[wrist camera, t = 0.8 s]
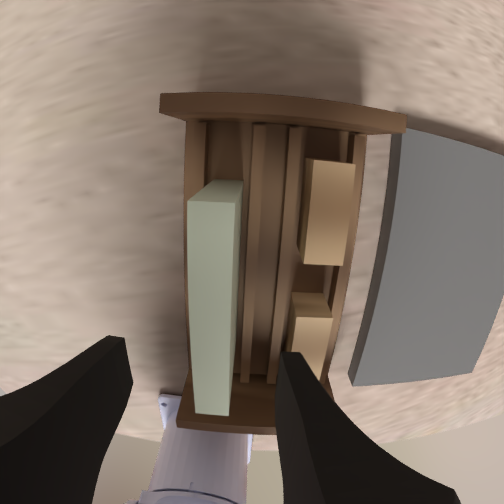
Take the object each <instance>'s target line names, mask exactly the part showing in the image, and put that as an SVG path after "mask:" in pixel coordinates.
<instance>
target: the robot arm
mask: <svg viewBox="0 0 504 504" xmlns="http://www.w3.org/2000/svg"><path fill="white" fill-rule="evenodd" d="M132 386H133V379H132V374H131V369H130V365H129V360H128V355H127V350H126V344H125V339H124V338H123V337H116V336H110V335H108V336H106V337H105V338H103V339H101V340H100V341H98V342H97V343H95V344H94V345H92V346H91V347H89V348H88V349H86V350H85V351H83V352H82V353H80V354H79V355H77V356H76V357H74V358H73V359H71V360H70V361H68V362H67V363H65V364H64V365H62V366H61V367H59V368H57V369H56V370H54V371H52V372H51V373H49V374H47V375H46V376H44V377H42V378H41V379H39V380H37V381H35V382H33V383H31V384H29V385H27V386H25V387H23V388H21V389H18V390H16V391H14V392H11V393H9V394H6V395H3V396H0V504H92V500H93V496H94V491H95V486H96V483H97V479H98V475H99V472H100V468H101V464H102V461H103V459H104V456H105V454H106V451H107V449H108V447H109V444H110V442H111V440H112V438H113V435H114V433H115V431H116V429H117V427H118V424H119V422H120V420H121V418H122V415H123V413H124V411H125V408H126V406H127V403H128V399H129V396H130V393H131V389H132ZM181 397H182V396H175V395H168V394H160V395H159V397H158V403H159V408H160V413H161V418H162V422H163V427H164V434H163V437H162V441H161V444H160V448H159V452H158V455H157V459H156V463H155V466H154V470H153V474H152V477H151V482H150V485H149V489H148V491H146V490H142V491H141V495H140V499H139V501H138V500H134V499H131V500H128V501H127V502H126V503H124V504H246V488H247V464H248V463H250V456H251V447H252V437H253V434H237V433H223V432H211V431H201V430H193V429H185V428H177V425H176V416H177V412H178V409H179V405H180V401H181ZM165 403H166V404H165ZM275 426H276V434H277V441H278V449H279V456H280V463H281V470H282V477H283V493H284V504H461V503H460V500H459V498H458V496H457V494H456V492H455V491H454V489H452V488H450V487H447V486H445V485H443V484H441V483H438V482H436V481H434V480H432V479H429V478H428V477H425V476H423V475H422V474H420V473H418V472H416V471H415V470H413V469H411V468H410V467H408V466H406V465H405V464H403V463H401V462H400V461H399V460H397V459H396V458H394V457H393V456H392V455H390V454H389V453H388V452H386V451H385V450H383V449H382V448H381V447H379V446H378V445H377V444H376V443H375V442H373V441H372V440H371V439H370V438H369V437H368V436H366V435H365V434H364V433H363V432H362V431H361V430H360V429H359V428H358V427H357V426H356V425H355V424H354V423H353V422H352V421H351V420H350V419H349V418H348V417H347V415H346V414H345V413H344V412H343V411H342V410H341V409H340V407H339V406H338V405H337V404H336V403H335V401H334V400H333V399H332V398H331V396H330V395H329V394H328V392H327V391H326V390H325V388H324V387H323V386H322V384H321V383H320V381H319V380H318V379H317V377H316V376H315V374H314V373H313V371H312V369H311V368H310V366H309V365H308V363H307V361H306V360H305V358H304V356H303V355H302V354H301V353H300V352H281V355H280V362H279V369H278V376H277V383H276V390H275Z"/></svg>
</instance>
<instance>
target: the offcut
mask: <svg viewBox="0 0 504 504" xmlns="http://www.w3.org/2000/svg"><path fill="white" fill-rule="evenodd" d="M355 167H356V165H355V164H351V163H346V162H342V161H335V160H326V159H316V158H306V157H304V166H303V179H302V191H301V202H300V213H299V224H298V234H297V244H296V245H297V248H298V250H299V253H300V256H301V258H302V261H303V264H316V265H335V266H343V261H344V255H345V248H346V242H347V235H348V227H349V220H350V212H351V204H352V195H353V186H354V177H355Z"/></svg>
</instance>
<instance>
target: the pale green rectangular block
mask: <svg viewBox="0 0 504 504" xmlns="http://www.w3.org/2000/svg"><path fill="white" fill-rule="evenodd" d="M243 183H244V180H227V179H214V180H213V181H211V182H210V183H209V184H207V185H206V186H205V187H204V188H203V189H201V190H200V191H199V192H198V193H196V194H195V195H194V196H193V197H191V198H190V199H189V200H188V201H187V265H188V303H189V327H190V346H191V362H192V376H193V390H194V402H195V413H200V414H210V415H222V416H229V407H230V397H231V386H232V376H233V366H234V356H235V346H236V336H237V311H238V287H239V264H240V243H241V222H242V202H243Z"/></svg>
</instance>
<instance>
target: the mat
mask: <svg viewBox="0 0 504 504" xmlns="http://www.w3.org/2000/svg"><path fill="white" fill-rule="evenodd" d="M503 295H504V156H503V155H500V154H497V153H494V152H491V151H489V150H485V149H482V148H479V147H476V146H473V145H470V144H466V143H463V142H460V141H456V140H453V139H449V138H445V137H442V136H438V135H434V134H430V133H426V132H422V131H418V130H413V129H409V128H406V133H398V134H392V139H391V152H390V163H389V173H388V182H387V190H386V198H385V205H384V212H383V219H382V226H381V232H380V238H379V244H378V250H377V255H376V261H375V266H374V271H373V276H372V281H371V285H370V290H369V295H368V299H367V304H366V308H365V312H364V316H363V320H362V324H361V328H360V332H359V336H358V340H357V344H356V347H355V351H354V355H353V358H352V362H351V365H350V369H349V372H348V376H349V379H350V381H351V384H352V386H369V385H382V384H394V383H404V382H413V381H421V380H429V379H436V378H443V377H449V376H456V375H461V374H467V373H472V371H473V369H474V367H475V365H476V362H477V360H478V358H479V356H480V354H481V352H482V349H483V347H484V345H485V342H486V340H487V338H488V335H489V333H490V330H491V328H492V325H493V323H494V320H495V318H496V315H497V312H498V309H499V307H500V304H501V301H502V298H503Z"/></svg>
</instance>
